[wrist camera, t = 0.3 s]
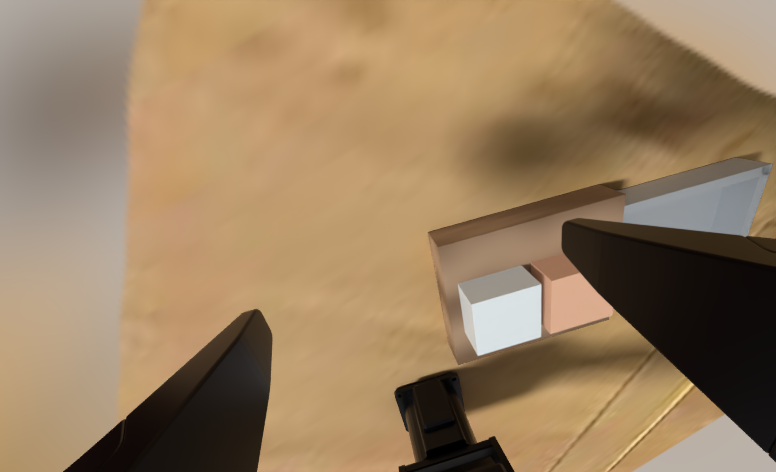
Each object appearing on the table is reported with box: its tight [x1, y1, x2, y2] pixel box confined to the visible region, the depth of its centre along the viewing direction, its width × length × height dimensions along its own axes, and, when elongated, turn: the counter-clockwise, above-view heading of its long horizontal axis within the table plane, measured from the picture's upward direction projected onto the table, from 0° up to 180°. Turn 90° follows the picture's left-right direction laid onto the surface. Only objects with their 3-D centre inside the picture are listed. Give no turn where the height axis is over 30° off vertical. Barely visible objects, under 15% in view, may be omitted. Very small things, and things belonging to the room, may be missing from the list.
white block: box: [458, 266, 541, 356], centre depth 23 cm, size 5×5×2 cm
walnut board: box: [428, 184, 626, 365], centre depth 25 cm, size 12×14×2 cm
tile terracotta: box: [531, 253, 613, 334], centre depth 23 cm, size 5×5×2 cm
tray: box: [613, 157, 773, 309], centre depth 26 cm, size 10×12×2 cm
